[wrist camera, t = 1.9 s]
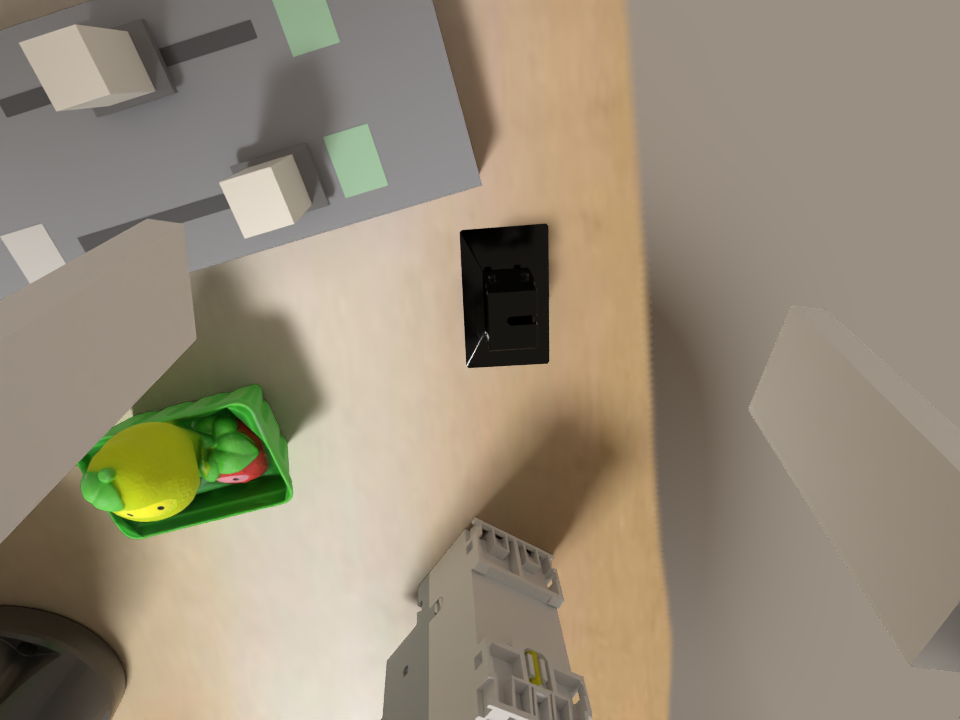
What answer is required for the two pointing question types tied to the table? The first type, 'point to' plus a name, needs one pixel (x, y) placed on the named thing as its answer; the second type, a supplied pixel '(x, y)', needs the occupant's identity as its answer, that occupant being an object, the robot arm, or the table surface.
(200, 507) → the fruit basket
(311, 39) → the gray slotted slider panel
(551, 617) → the circuit breaker
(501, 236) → the black stepped block
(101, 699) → the robot arm
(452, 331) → the table surface
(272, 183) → the breaker handle
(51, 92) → the block
